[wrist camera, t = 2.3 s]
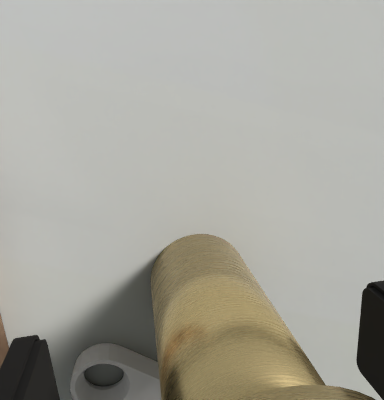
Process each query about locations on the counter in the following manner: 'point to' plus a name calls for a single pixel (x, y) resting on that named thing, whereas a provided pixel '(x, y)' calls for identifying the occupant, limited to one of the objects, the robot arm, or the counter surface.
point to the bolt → (225, 331)
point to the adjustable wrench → (130, 383)
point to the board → (3, 343)
